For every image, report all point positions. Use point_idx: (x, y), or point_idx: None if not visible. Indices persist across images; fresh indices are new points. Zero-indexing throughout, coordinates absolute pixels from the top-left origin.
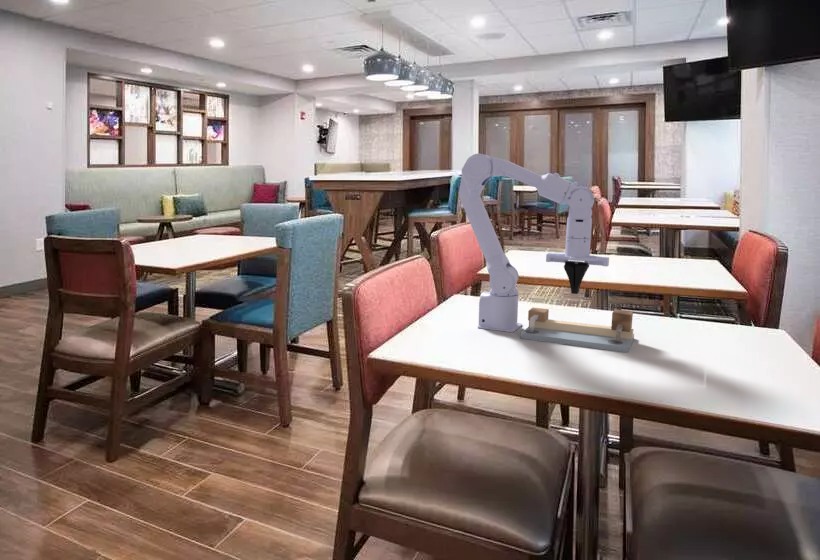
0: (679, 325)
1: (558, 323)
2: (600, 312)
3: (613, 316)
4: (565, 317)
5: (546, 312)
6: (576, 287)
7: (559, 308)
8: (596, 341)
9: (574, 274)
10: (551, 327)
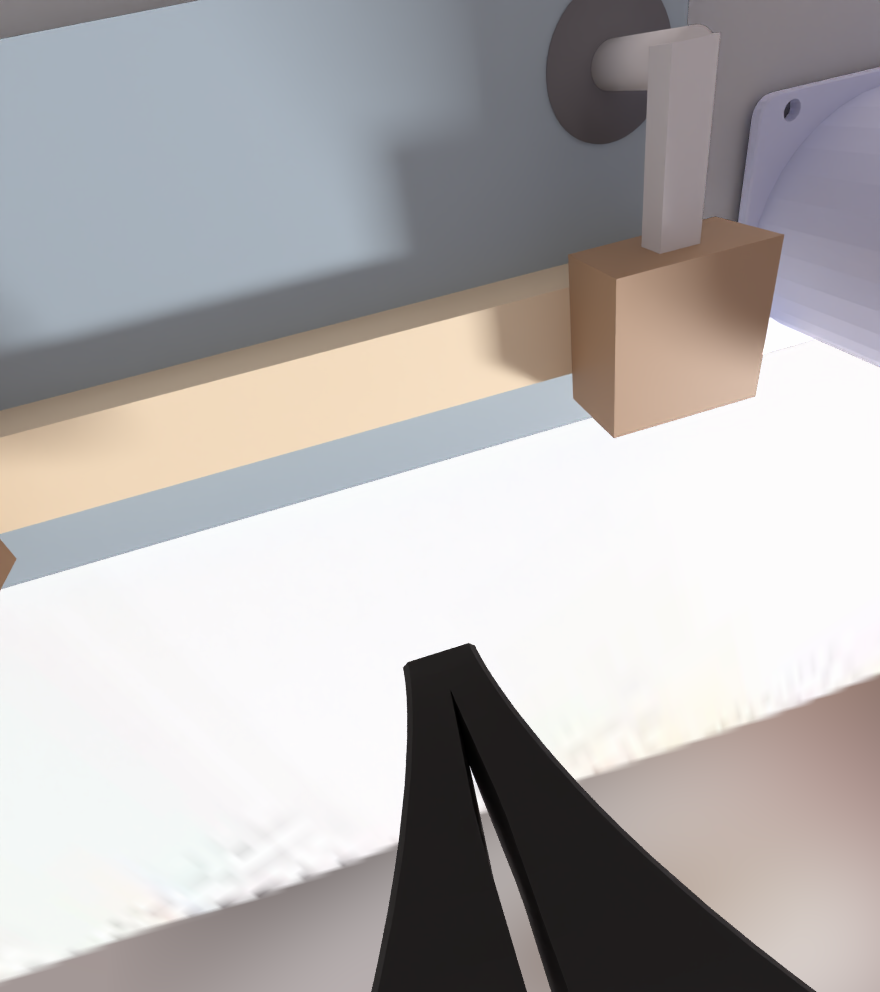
0: (14, 899)
1: (446, 319)
2: None
3: None
4: (535, 661)
5: (607, 352)
6: (425, 728)
7: (606, 742)
8: None
9: (547, 950)
10: (492, 288)
